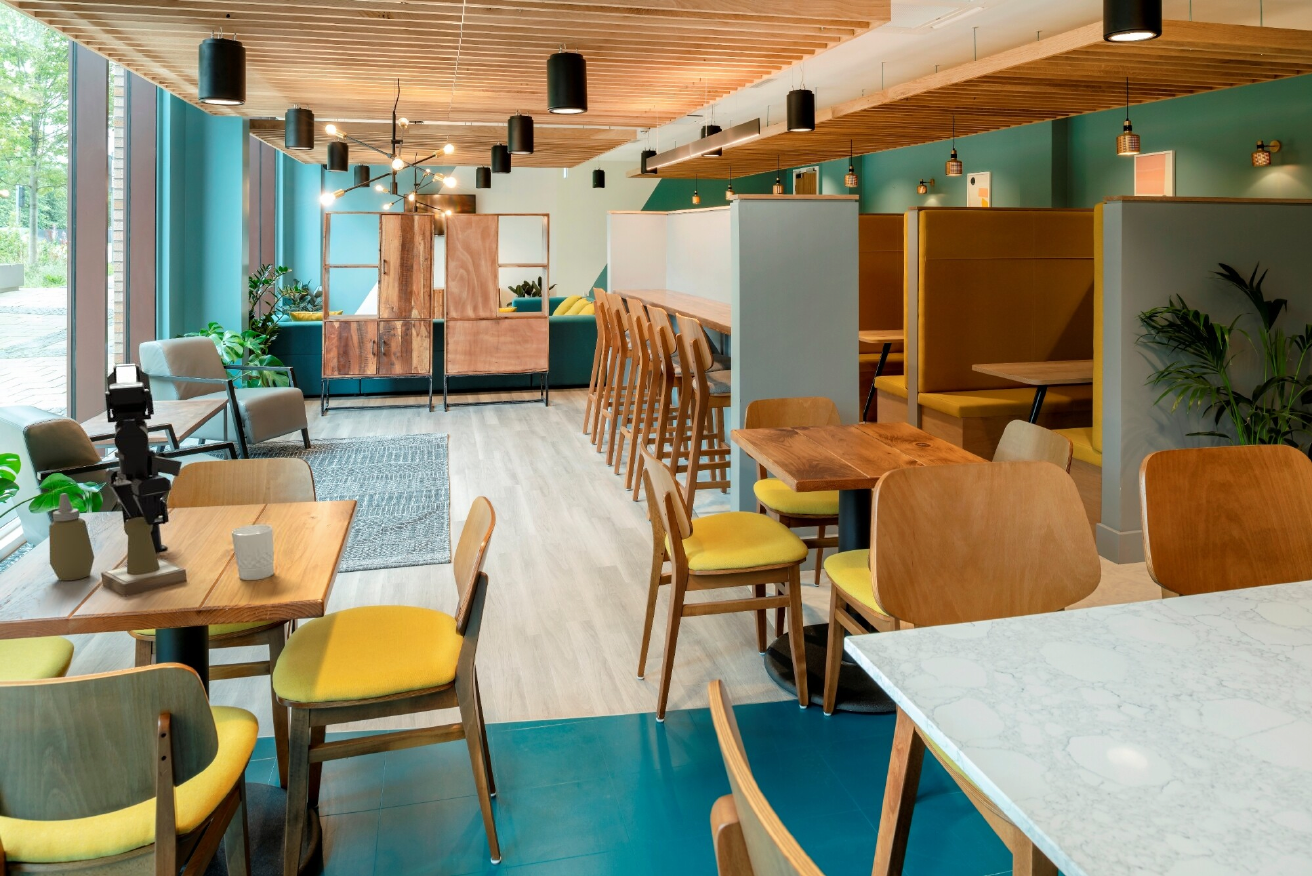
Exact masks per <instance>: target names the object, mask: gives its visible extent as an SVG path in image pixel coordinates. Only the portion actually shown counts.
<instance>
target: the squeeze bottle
mask: <svg viewBox="0 0 1312 876" xmlns="http://www.w3.org/2000/svg"><path fill="white" fill-rule="evenodd" d="M52 516H53V522H51V523H50V524H49V525H48V528H49V530H48V532H49V533H48V535H49V538H48V539H49V565H50V566H51V568H52V570H53V571H54V574H55V576H57V579H58V580H59V581H74V580H79V579H84V578H86V577H88V576H90V575H91V573H92V568H93V564H94V559H95V555H94V551H93V546H92V543H91V542H92V541H91V538H90V535H89V531H88V526H87V523H86V520H85V519H83V518H81V515H80V510H79V509H78V508H73V506H72V503H71V501H70V498H69V495H68V493H61V494H60V495H59V502H58V510H55V511H53V512H52Z"/></svg>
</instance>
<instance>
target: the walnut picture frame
mask: <svg viewBox="0 0 1312 876" xmlns="http://www.w3.org/2000/svg"><path fill="white" fill-rule="evenodd" d="M157 559H158V563H159V567H160V569H159V570H157V571H155V572H151V573H147V574H140V575H131V574H127V566H123V567H120V568H119V567H118V568H115V569H111V570H106V571H101V572H100V575H101V583H102V584H101V585H104V586H105V587H107V588H108V589H111V590H113V591H114V592H115V593H118V594H120V595H122V596H123V595H124V597H128V596H127V595H129V596H132V594H133V595H136V594H140V592H141V593H144V592H149V591H153V590H156V589H160V588H164V587H168V586H172V585H176V584H181V583H184V582H187V581H188V580H187V570H186V569H185V568H184V567H181V566H179V565H177V564H175V563H172V562H170V561H168V560H167V559H166V560H165V559H163V558H157ZM180 582H181V583H180Z"/></svg>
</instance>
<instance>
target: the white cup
mask: <svg viewBox="0 0 1312 876" xmlns="http://www.w3.org/2000/svg"><path fill="white" fill-rule="evenodd" d="M273 530H274V529H273V526H271V525H269V524H251V525H244V526H240V527H238V528H235V529H233V530H231V536H232V542H233V551H234V557H235V561H236V565H237V572H238V577H239V579H240V580H243V581H257V580H264V579H267V578H269V577H272V575H274V561H275V558H274V556H275V555H274V553H275V552H274V531H273Z"/></svg>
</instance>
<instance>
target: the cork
mask: <svg viewBox="0 0 1312 876" xmlns="http://www.w3.org/2000/svg"><path fill="white" fill-rule="evenodd" d="M152 528H153V525H148V524H147V522H146V520H145V519H144V517H138V518H133V519H129V520H127V521H126V522H125V524H124V523H123V531H124V533H125V535H127V557H126V558H127V559H126V560H127V562H126V567H127V574H131V575H140V574H147V573H151V572H155V571H157V570H159V569H160V567H159V563H158V559H159V558H158V557H157V553H156V552H155V548H154V545H153V541H152V537H151V531H152Z"/></svg>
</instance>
